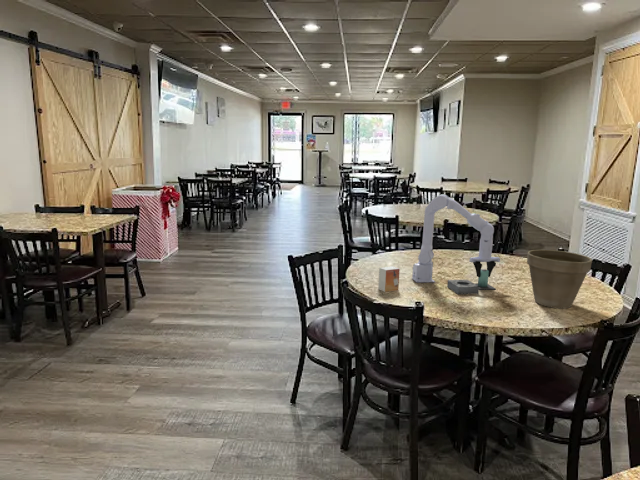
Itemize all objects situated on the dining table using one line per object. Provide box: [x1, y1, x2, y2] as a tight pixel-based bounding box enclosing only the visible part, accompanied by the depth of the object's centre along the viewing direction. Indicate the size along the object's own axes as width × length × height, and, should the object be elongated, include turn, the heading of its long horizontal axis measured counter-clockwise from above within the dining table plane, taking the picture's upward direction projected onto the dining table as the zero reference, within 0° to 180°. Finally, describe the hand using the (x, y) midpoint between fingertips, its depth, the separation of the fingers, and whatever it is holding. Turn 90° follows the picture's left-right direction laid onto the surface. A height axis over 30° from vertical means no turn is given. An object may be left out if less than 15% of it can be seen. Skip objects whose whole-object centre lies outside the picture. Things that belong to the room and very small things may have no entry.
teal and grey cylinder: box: [477, 268, 489, 287], centre depth 231 cm, size 4×4×8 cm
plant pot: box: [526, 249, 593, 309], centre depth 208 cm, size 25×25×22 cm
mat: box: [475, 283, 496, 291], centre depth 232 cm, size 9×9×1 cm
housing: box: [446, 279, 480, 295], centre depth 226 cm, size 10×12×4 cm
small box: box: [377, 265, 401, 293], centre depth 224 cm, size 8×6×10 cm
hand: (483, 276), depth 231 cm, fingers closed on teal and grey cylinder, 4 cm apart
